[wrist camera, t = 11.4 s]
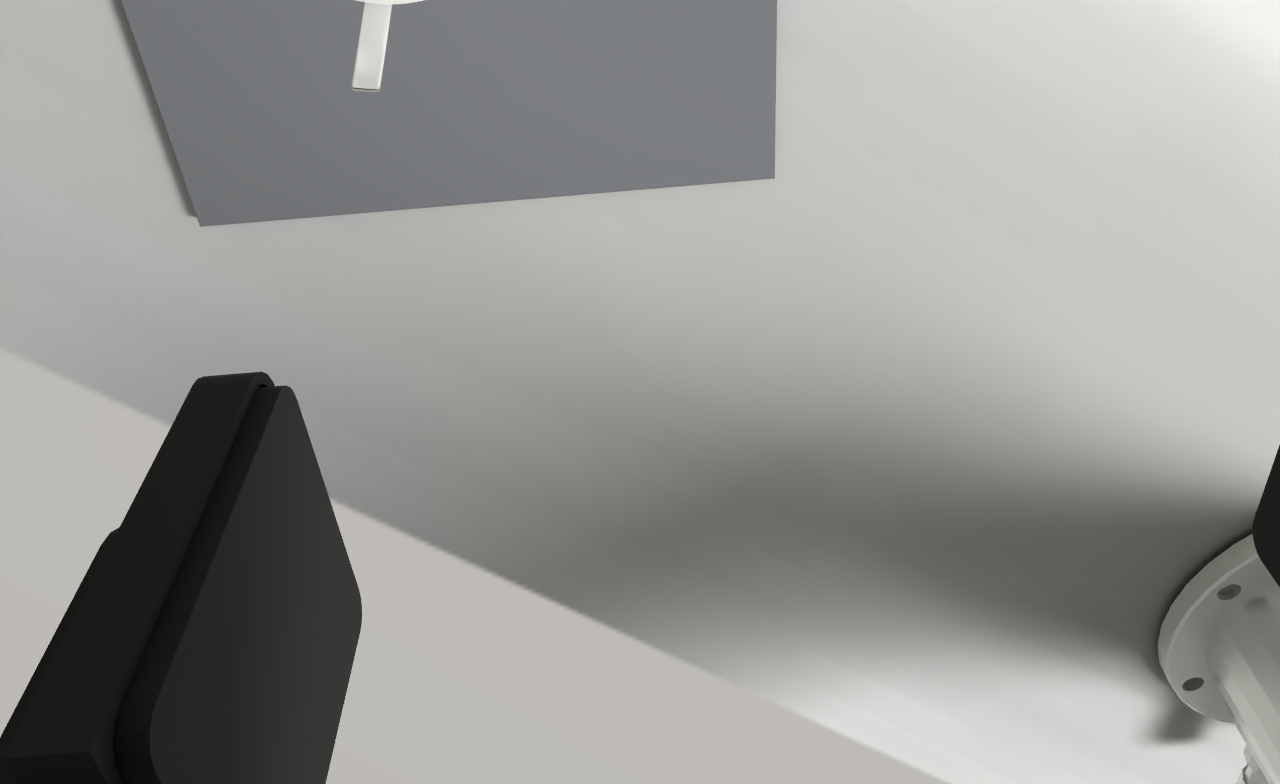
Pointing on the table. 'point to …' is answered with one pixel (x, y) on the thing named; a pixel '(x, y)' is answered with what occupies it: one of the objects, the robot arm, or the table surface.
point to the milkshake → (373, 44)
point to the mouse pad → (456, 100)
